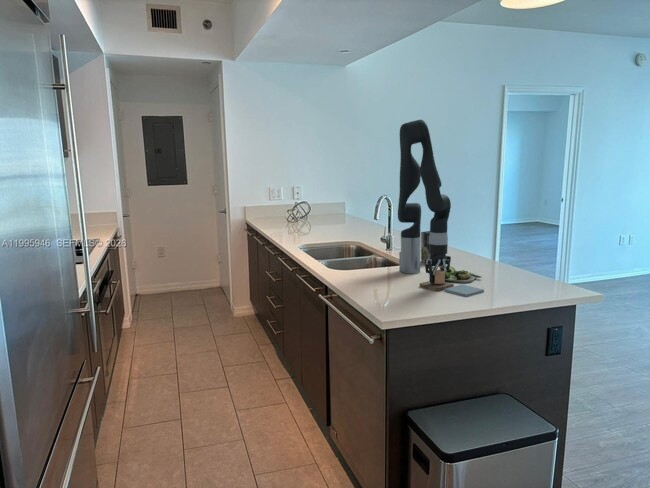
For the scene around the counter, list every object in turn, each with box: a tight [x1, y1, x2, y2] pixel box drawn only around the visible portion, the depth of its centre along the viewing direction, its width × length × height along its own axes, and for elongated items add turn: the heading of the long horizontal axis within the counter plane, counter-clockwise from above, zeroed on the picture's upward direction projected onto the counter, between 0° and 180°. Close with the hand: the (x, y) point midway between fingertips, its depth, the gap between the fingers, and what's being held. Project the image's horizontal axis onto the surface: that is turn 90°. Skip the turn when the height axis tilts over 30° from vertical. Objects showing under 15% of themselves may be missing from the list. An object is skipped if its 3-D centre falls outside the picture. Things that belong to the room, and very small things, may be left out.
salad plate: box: [445, 265, 482, 284], centre depth 215 cm, size 19×18×5 cm
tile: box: [444, 283, 485, 298], centre depth 193 cm, size 11×11×1 cm
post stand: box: [419, 280, 455, 292], centre depth 201 cm, size 10×10×6 cm
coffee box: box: [420, 230, 431, 263], centre depth 248 cm, size 9×6×16 cm
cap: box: [432, 269, 445, 284], centre depth 201 cm, size 6×6×5 cm
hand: (437, 281), depth 201 cm, fingers closed on cap, 5 cm apart
